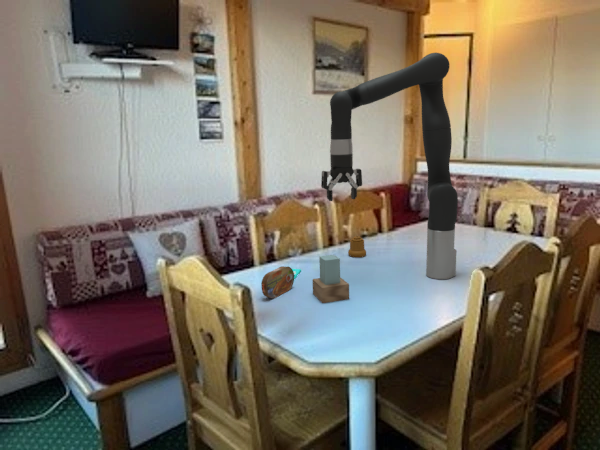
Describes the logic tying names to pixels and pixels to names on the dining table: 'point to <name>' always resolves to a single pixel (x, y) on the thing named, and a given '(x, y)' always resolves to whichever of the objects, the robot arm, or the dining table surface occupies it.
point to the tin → (277, 282)
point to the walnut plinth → (330, 291)
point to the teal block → (329, 269)
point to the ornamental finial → (357, 247)
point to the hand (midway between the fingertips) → (342, 199)
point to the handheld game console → (296, 272)
